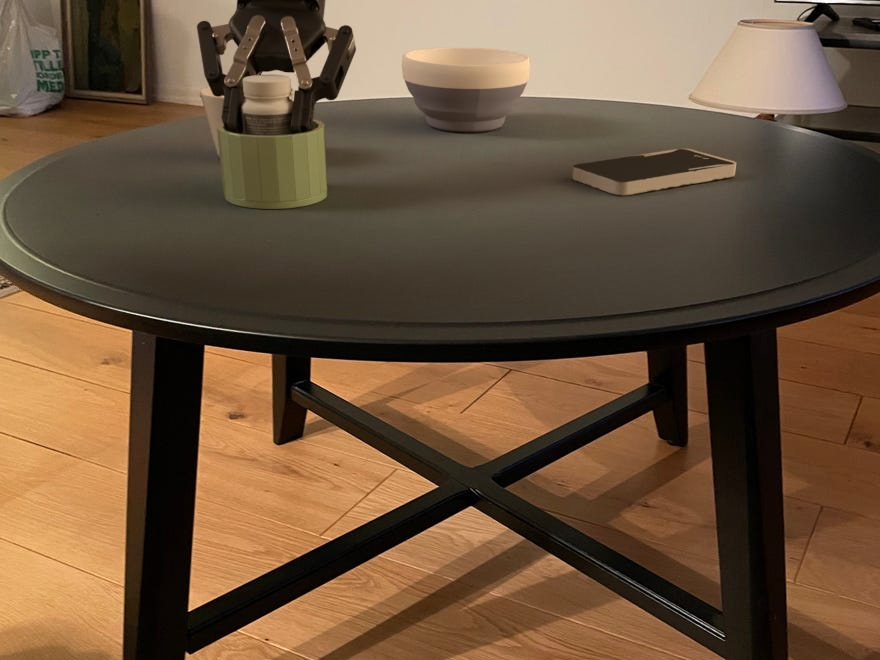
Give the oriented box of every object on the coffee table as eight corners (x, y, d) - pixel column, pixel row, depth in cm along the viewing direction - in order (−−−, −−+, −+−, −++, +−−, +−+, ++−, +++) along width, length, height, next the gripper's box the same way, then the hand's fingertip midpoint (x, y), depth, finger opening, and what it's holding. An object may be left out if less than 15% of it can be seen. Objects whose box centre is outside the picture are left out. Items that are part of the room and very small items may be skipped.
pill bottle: (310, 181, 90) (304, 79, 86) (259, 187, 88) (250, 84, 83) (288, 169, 93) (281, 71, 89) (239, 175, 91) (229, 75, 87)
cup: (281, 215, 86) (275, 141, 83) (202, 198, 90) (194, 127, 87) (348, 192, 92) (345, 123, 89) (272, 177, 96) (267, 111, 93)
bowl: (381, 131, 115) (380, 59, 112) (431, 109, 127) (431, 44, 124) (503, 143, 111) (505, 69, 107) (543, 120, 123) (546, 52, 119)
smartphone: (569, 165, 98) (685, 147, 105) (568, 179, 98) (684, 161, 106) (621, 182, 92) (740, 163, 99) (620, 197, 93) (738, 177, 100)
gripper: (193, -68, 88) (168, 106, 83) (360, -63, 87) (343, 111, 83) (217, -5, 95) (194, 157, 91) (370, -1, 95) (356, 162, 90)
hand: (265, 134), depth 87 cm, fingers closed on pill bottle, 4 cm apart
